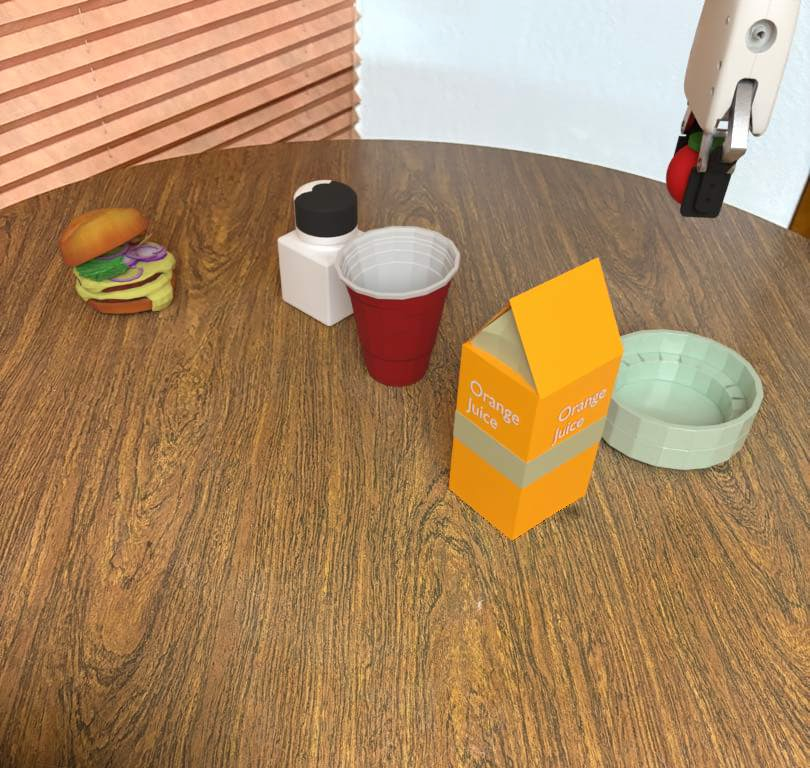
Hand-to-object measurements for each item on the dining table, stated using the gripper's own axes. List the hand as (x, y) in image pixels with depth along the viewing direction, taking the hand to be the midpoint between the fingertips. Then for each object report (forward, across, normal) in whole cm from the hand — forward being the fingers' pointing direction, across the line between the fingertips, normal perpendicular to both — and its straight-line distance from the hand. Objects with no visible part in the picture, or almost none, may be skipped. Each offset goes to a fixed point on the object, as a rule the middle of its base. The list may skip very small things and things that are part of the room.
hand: (692, 197), depth 74 cm
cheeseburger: (+16, +6, +54) cm, 56 cm away
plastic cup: (+16, -5, +25) cm, 30 cm away
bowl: (+16, -11, 0) cm, 19 cm away
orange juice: (+16, -21, +14) cm, 30 cm away
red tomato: (+1, 0, 0) cm, 1 cm away
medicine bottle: (+16, +6, +32) cm, 37 cm away
